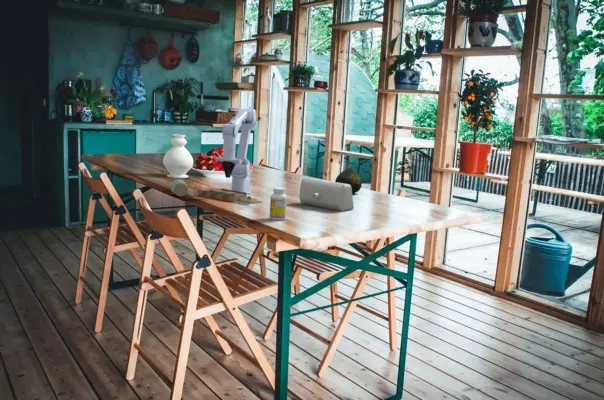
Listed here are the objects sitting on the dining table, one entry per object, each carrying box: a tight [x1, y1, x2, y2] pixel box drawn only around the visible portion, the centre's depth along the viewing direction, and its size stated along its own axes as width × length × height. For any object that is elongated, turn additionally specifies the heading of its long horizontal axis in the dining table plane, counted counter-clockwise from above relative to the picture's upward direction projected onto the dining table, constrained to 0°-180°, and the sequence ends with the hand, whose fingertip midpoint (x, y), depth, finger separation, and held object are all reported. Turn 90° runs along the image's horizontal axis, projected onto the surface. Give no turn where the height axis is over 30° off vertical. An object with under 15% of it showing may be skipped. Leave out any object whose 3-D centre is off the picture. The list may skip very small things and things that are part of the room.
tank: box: [299, 177, 354, 212], centre depth 266 cm, size 25×16×12 cm, turn 54°
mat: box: [233, 200, 263, 206], centre depth 267 cm, size 12×8×1 cm, turn 149°
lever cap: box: [239, 195, 258, 204], centre depth 267 cm, size 7×5×3 cm
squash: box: [334, 167, 363, 195], centre depth 318 cm, size 14×15×15 cm
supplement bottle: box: [269, 187, 288, 221], centre depth 231 cm, size 7×7×13 cm
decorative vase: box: [162, 133, 194, 179], centre depth 337 cm, size 18×18×25 cm
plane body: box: [197, 187, 248, 203], centre depth 274 cm, size 22×10×4 cm, turn 59°
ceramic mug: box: [170, 178, 195, 198], centre depth 272 cm, size 11×8×8 cm
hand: (227, 177), depth 272 cm, fingers closed
